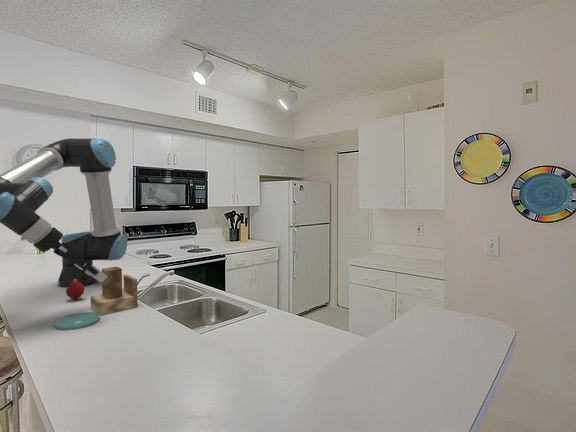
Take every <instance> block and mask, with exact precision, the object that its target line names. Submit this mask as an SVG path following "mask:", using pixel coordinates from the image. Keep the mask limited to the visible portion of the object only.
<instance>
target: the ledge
mask: <svg viewBox="0 0 576 432" xmlns="http://www.w3.org/2000/svg"><path fill="white" fill-rule="evenodd" d="M122 279H123V290H122V297H118V298H113V299H108V300H107V299H105V298H104V297H102V293H101V294H98V295H96V294H95V295H91V296H90V309H92V310H93V312H96V313H98V314H99V315H100V316H104V315H108V314H113V313H118V312H121V311H125V310H130V309H135V308H137V307H138V305H139V304H138V279H137V278H135V277H134V276H131V275H129V274H122Z"/></svg>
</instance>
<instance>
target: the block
mask: <svg viewBox="0 0 576 432" xmlns="http://www.w3.org/2000/svg"><path fill="white" fill-rule="evenodd" d="M101 272H103V273H104V274H105V275H107V276H108V277H107V278H106V279H105V280H104V281H103V282H102V283H101V291H102V292H101V294H102V297H104V298H105V299H107V300H108V299H113V298H118V297H122V291H123V269H122V268H121V267H119V266H112V267H111V266H110V267H103V268H101Z"/></svg>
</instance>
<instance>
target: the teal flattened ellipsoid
mask: <svg viewBox="0 0 576 432" xmlns="http://www.w3.org/2000/svg"><path fill="white" fill-rule="evenodd" d="M100 320H101V315H99V314H98V313H97V312H96V311H82V312H75V313H71V314H67V315H64V316H61V317H59V318H57V319H56V320H55V319H54V321H53V324H54V326H53V327H54V329H56V330H61V331H69V330H70V329H72V330H79V329H82V328H86V327H89V326H92V325H96V324H97V323H98V322H99V321H100Z"/></svg>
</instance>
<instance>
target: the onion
mask: <svg viewBox="0 0 576 432" xmlns="http://www.w3.org/2000/svg"><path fill="white" fill-rule="evenodd" d="M65 293H66V296H67V297H68V298H69V299H71V300H74V301H77V300H78V299H80V297H82V296H83V295H84V293H85V285H84V286H83V285H82V284H81V283H80V282H78V281H77V279H74V280H73V282H72V283H70V284H69V285H68V287H66V289H65Z"/></svg>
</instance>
